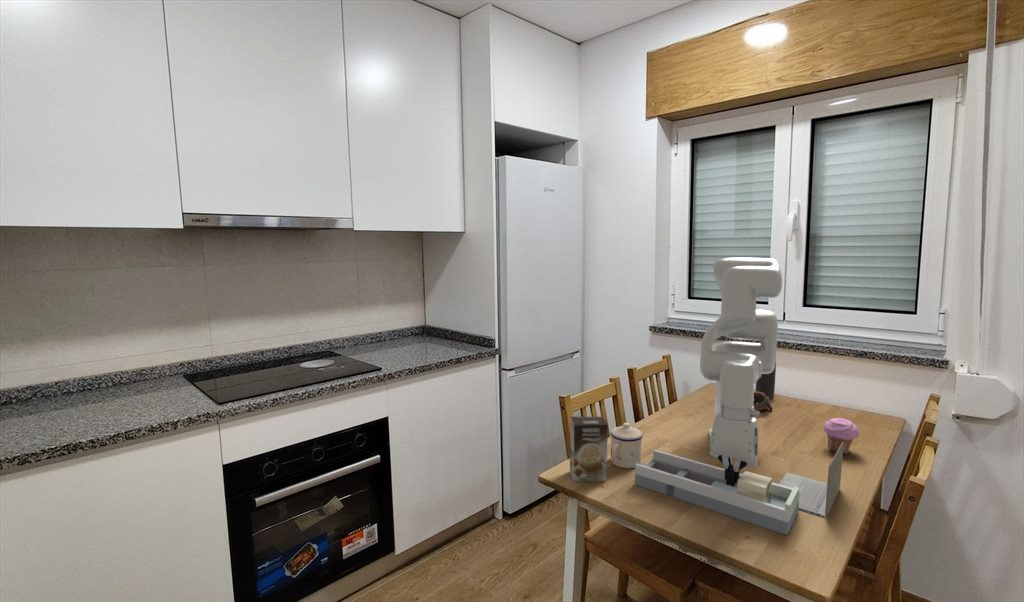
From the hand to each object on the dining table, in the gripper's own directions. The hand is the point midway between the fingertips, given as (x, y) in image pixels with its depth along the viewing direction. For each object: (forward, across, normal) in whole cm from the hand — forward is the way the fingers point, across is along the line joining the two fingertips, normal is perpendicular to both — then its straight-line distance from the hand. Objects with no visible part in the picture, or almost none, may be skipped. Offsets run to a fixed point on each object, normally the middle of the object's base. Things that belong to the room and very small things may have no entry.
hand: (731, 483), depth 121 cm
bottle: (+5, +14, -92) cm, 93 cm away
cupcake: (+5, -16, -52) cm, 55 cm away
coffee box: (+5, +34, +10) cm, 36 cm away
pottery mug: (+5, +13, -75) cm, 76 cm away
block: (+2, -5, 0) cm, 6 cm away
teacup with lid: (+5, +30, -3) cm, 31 cm away
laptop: (+6, -13, -17) cm, 22 cm away
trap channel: (+5, +4, 0) cm, 7 cm away
